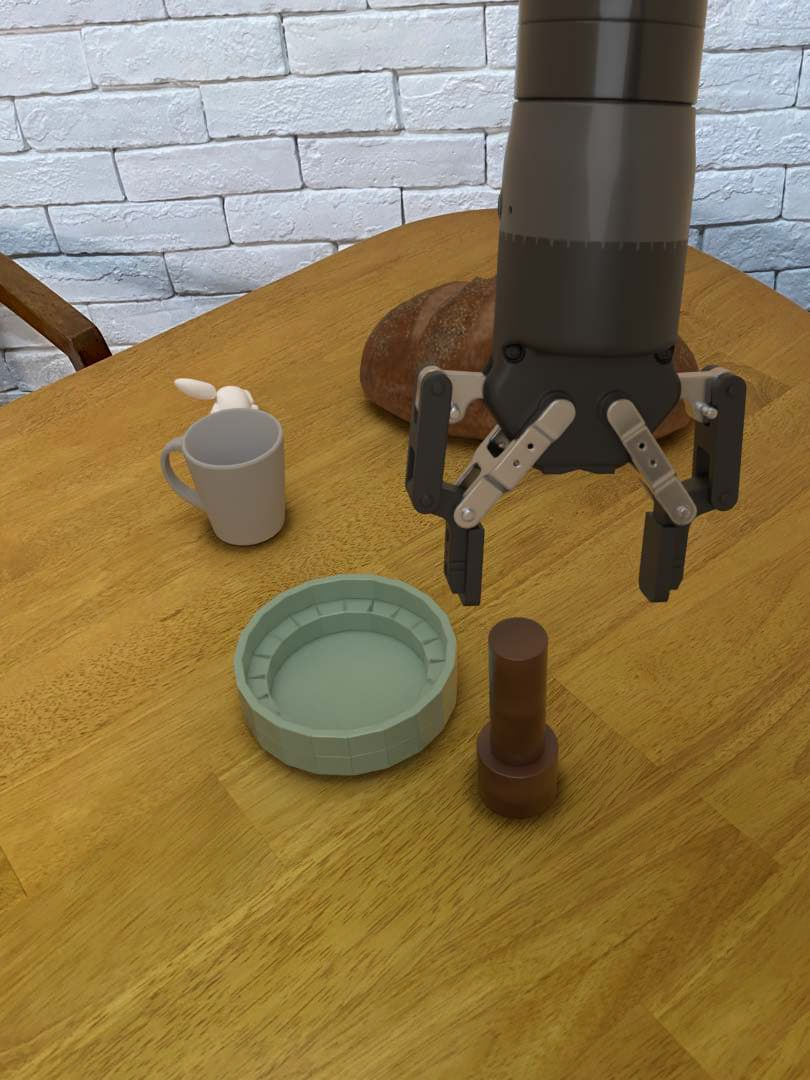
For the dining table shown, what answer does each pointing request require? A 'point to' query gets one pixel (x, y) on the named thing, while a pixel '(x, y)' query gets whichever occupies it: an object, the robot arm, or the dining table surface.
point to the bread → (455, 352)
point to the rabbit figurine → (216, 394)
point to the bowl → (347, 673)
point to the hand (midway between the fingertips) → (561, 598)
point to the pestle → (517, 723)
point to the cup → (234, 473)
